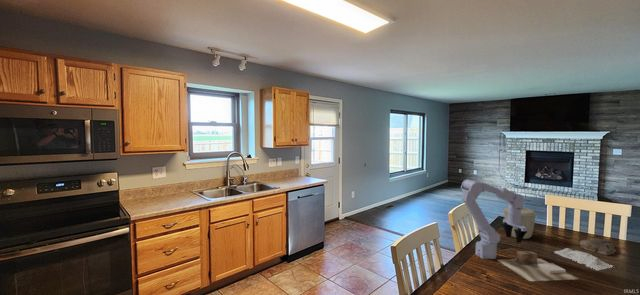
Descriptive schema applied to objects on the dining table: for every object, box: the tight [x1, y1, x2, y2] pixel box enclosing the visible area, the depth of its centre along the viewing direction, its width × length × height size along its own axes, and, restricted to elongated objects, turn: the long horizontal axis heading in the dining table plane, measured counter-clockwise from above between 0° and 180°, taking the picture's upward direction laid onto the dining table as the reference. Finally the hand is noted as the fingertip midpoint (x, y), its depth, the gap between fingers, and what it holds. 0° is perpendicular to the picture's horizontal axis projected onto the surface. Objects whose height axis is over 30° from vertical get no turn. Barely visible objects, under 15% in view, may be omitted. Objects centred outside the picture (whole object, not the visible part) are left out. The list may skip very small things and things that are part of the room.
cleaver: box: [547, 232, 571, 240], centre depth 189 cm, size 29×1×10 cm
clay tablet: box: [579, 237, 617, 256], centre depth 162 cm, size 14×5×20 cm
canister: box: [502, 204, 538, 240], centre depth 181 cm, size 18×18×21 cm
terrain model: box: [554, 247, 614, 271], centre depth 148 cm, size 17×23×5 cm
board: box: [497, 257, 579, 282], centre depth 136 cm, size 24×21×1 cm
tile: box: [537, 262, 567, 274], centre depth 135 cm, size 2×7×8 cm
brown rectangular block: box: [516, 250, 538, 264], centre depth 143 cm, size 8×4×5 cm, turn 93°
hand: (513, 239), depth 151 cm, fingers open, 7 cm apart
